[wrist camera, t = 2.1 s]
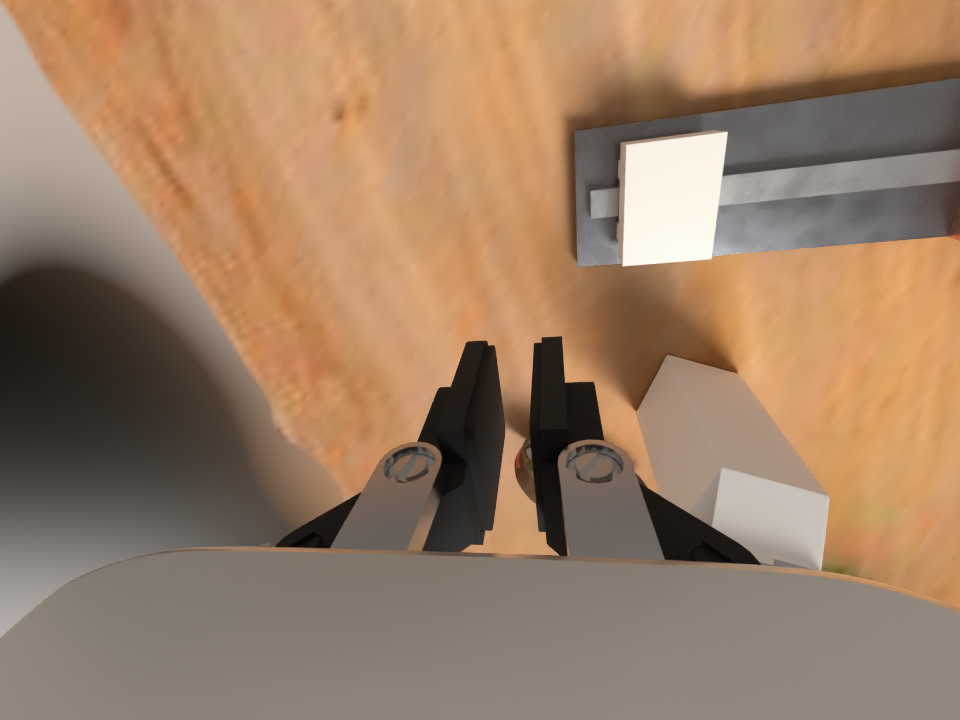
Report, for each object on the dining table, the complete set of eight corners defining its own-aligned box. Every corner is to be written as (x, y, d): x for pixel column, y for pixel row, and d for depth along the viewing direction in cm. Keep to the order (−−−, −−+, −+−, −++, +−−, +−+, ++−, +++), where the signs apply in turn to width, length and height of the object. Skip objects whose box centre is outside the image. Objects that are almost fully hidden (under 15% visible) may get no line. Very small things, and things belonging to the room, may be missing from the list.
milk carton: (666, 353, 40) (747, 518, 24) (740, 373, 40) (871, 551, 24) (634, 411, 44) (686, 590, 28) (702, 430, 44) (794, 619, 28)
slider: (709, 129, 30) (727, 131, 27) (696, 245, 34) (711, 258, 31) (618, 141, 31) (626, 144, 28) (616, 252, 35) (622, 266, 32)
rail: (1026, 68, 27) (1115, 60, 23) (962, 228, 32) (1026, 246, 28) (573, 130, 32) (577, 133, 28) (576, 261, 37) (580, 281, 33)
